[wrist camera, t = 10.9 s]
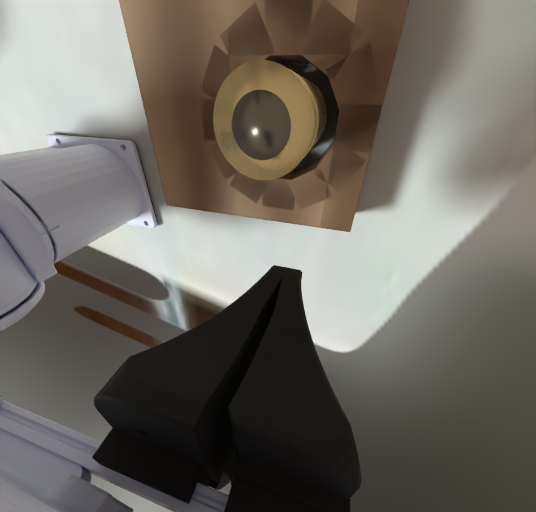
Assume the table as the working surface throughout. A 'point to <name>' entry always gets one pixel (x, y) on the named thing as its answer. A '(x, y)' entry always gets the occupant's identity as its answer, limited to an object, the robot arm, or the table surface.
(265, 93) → the bushing
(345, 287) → the table surface
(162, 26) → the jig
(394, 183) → the table surface
